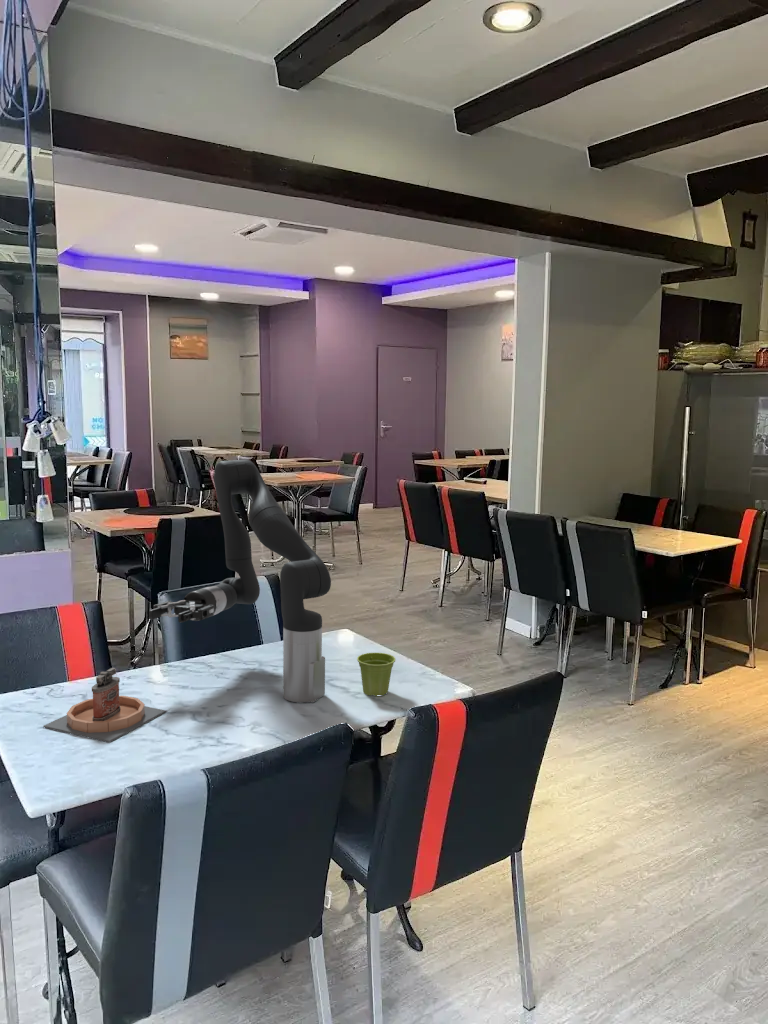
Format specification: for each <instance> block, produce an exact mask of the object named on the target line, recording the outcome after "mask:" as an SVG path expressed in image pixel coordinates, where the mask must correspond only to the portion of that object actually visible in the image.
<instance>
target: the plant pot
mask: <svg viewBox="0 0 768 1024" xmlns="http://www.w3.org/2000/svg"><path fill="white" fill-rule="evenodd" d="M356 660H357V662H358V666H359V667H360V674H361V675H360V677H361V684H362V692H363V694H365V695H366V694H367V695H366V696H369V695H370V696H374V695H375V697H378V696H377V695H383V696H385V695H384V694H386V693H387V694H388V692H389V687H390V681H391V674H392V669H393V667H394V664H395V662H396V661H397V660H396V657H395V656H394V655H392V654H389V653H385V652H366V653H362V654H360V655H358V657H357V658H356ZM387 694H386V695H387Z"/></svg>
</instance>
